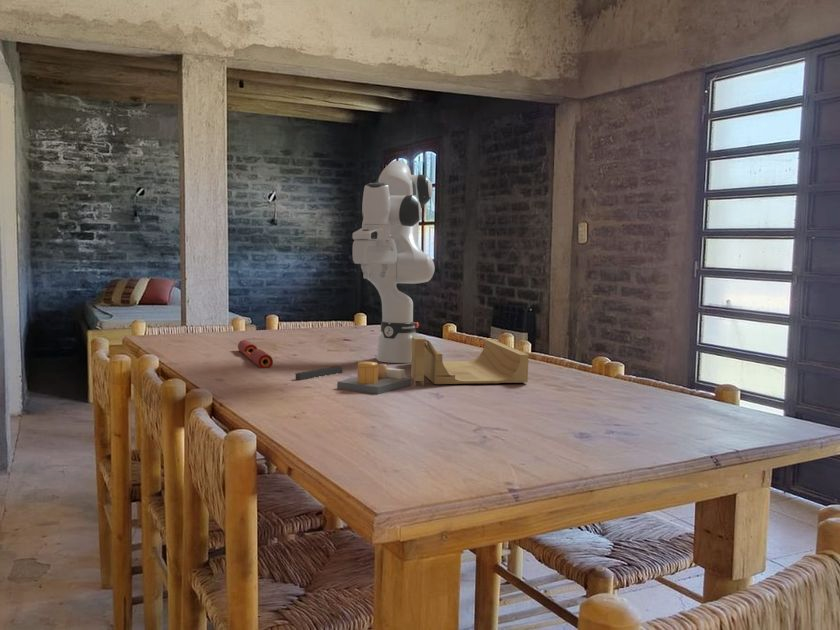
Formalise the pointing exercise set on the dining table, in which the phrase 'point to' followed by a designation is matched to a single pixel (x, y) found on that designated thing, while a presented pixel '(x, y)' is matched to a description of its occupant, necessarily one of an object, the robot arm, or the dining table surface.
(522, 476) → the dining table surface
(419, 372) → the skate ramp
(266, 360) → the blood vessel
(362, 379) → the cylinder
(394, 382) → the board
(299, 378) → the dark grey bar
